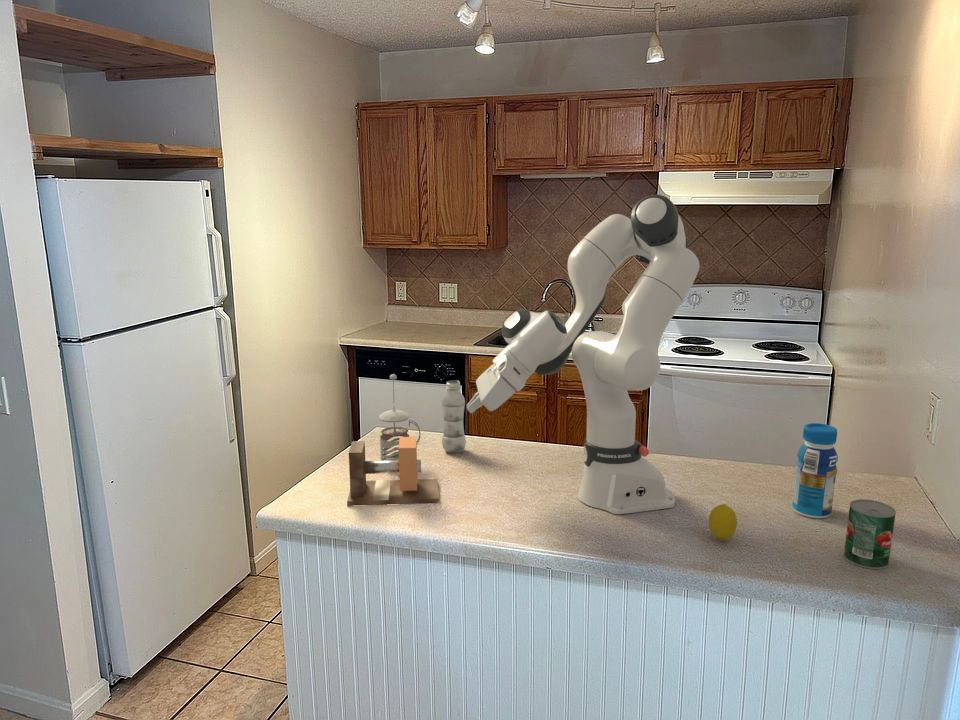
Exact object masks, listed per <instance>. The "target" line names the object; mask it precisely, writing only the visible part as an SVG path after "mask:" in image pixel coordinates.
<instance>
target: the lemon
mask: <svg viewBox="0 0 960 720" xmlns="http://www.w3.org/2000/svg"><path fill="white" fill-rule="evenodd" d="M737 526H738V519H737V514H736V513H735V510H734V509H733V508H732V507H730V506H728V505H727V504H725V503H721V504H720V505H717V506H715V507H714V508H712V510H711V511H710V514H709V517H708V528H709V531H710V533H711V534H712V535H713V536H714V537H715V538H717V539H718V540H719V541H725V540H727V539H730V538H731V537H733V536H734V535H735V533H736V530H737Z"/></svg>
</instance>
